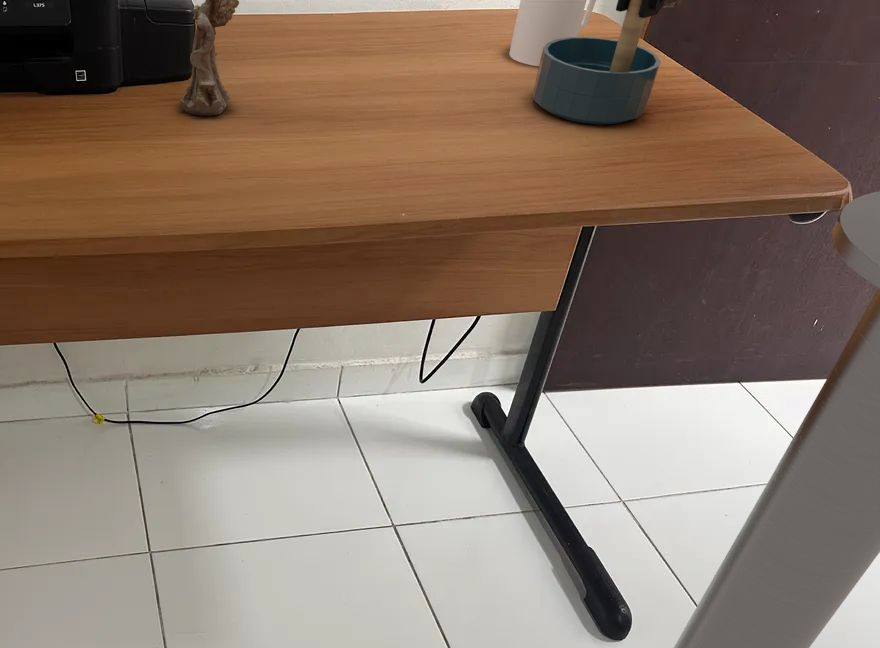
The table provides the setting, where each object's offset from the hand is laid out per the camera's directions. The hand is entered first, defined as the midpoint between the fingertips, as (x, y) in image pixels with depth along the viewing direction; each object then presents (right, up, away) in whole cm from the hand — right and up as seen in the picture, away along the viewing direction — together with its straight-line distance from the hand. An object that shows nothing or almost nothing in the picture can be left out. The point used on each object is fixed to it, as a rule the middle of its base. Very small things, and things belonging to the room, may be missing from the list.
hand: (637, 11), depth 101 cm
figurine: (-49, -9, +4) cm, 50 cm away
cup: (-2, +5, +21) cm, 22 cm away
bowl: (-3, -8, +7) cm, 11 cm away
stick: (0, -6, +6) cm, 9 cm away
